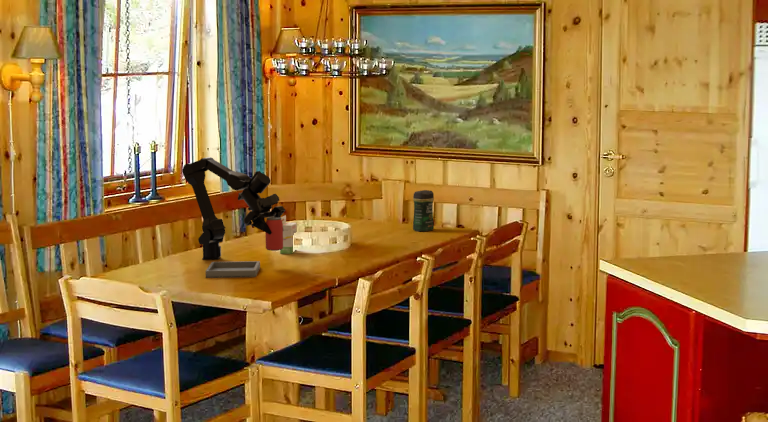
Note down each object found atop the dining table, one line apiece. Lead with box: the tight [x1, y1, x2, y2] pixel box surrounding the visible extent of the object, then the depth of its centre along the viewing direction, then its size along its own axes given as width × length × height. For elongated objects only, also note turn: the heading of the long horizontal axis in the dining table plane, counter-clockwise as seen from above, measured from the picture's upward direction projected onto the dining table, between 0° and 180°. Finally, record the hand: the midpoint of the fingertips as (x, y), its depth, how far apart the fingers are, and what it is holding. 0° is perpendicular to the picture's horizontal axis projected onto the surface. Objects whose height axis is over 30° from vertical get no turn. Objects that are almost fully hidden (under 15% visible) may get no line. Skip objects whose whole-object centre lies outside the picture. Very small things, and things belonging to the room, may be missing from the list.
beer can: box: [264, 217, 283, 252], centre depth 394 cm, size 7×7×12 cm
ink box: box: [279, 214, 298, 255], centre depth 426 cm, size 9×5×15 cm, turn 168°
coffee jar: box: [412, 189, 435, 232], centre depth 479 cm, size 10×8×19 cm
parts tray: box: [205, 260, 261, 279], centre depth 385 cm, size 18×18×2 cm
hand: (276, 232), depth 393 cm, fingers closed on beer can, 6 cm apart
